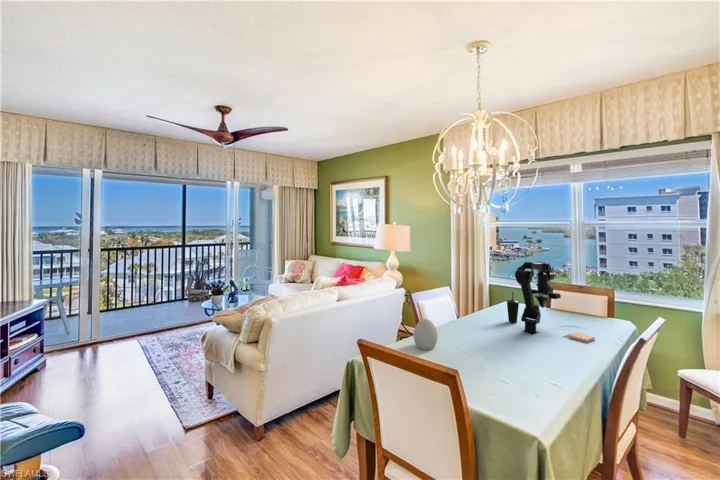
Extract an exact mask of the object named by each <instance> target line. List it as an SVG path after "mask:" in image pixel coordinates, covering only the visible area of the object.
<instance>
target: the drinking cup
mask: <svg viewBox="0 0 720 480" xmlns="http://www.w3.org/2000/svg"><path fill="white" fill-rule="evenodd" d="M511 296H512V298H511V299H508V300H506V307H507V319H508V323H509V322H510V323H509V324H517V323H518V314H519V308H520V307H519V305H520V301H518V300H517V299H514V291H512V292H511Z"/></svg>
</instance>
